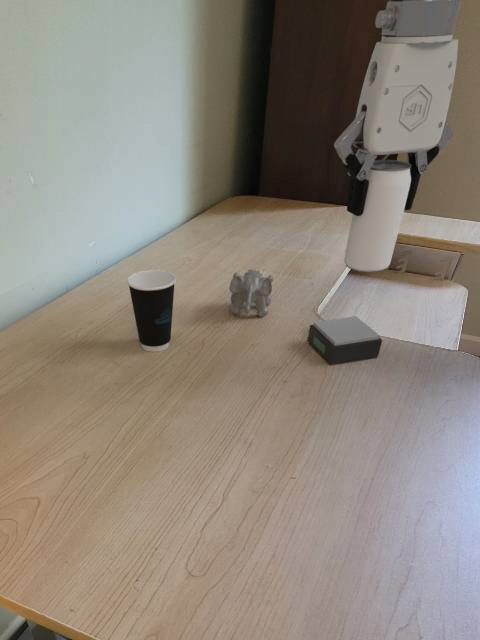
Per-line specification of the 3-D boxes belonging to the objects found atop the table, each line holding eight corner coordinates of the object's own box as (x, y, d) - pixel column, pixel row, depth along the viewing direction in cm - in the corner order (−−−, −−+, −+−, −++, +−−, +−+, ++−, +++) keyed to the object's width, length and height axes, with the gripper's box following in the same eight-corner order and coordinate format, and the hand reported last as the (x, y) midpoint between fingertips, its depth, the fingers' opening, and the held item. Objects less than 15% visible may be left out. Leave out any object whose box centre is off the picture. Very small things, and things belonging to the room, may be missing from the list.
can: (340, 270, 73) (359, 169, 65) (346, 255, 78) (365, 158, 69) (387, 275, 72) (414, 171, 63) (391, 259, 76) (416, 160, 67)
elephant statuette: (266, 301, 101) (270, 259, 96) (284, 327, 93) (290, 283, 88) (220, 305, 101) (221, 263, 95) (234, 332, 92) (236, 287, 87)
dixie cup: (138, 333, 93) (133, 268, 85) (181, 336, 92) (180, 270, 84) (127, 354, 88) (120, 286, 80) (172, 357, 86) (170, 289, 78)
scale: (352, 335, 90) (357, 314, 88) (377, 357, 85) (383, 336, 82) (306, 342, 89) (309, 321, 86) (329, 365, 83) (333, 344, 81)
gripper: (366, 28, 53) (332, 225, 66) (511, 20, 56) (451, 210, 69) (332, 26, 58) (307, 210, 71) (466, 19, 61) (419, 197, 74)
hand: (378, 209), depth 70 cm, fingers closed on can, 6 cm apart
